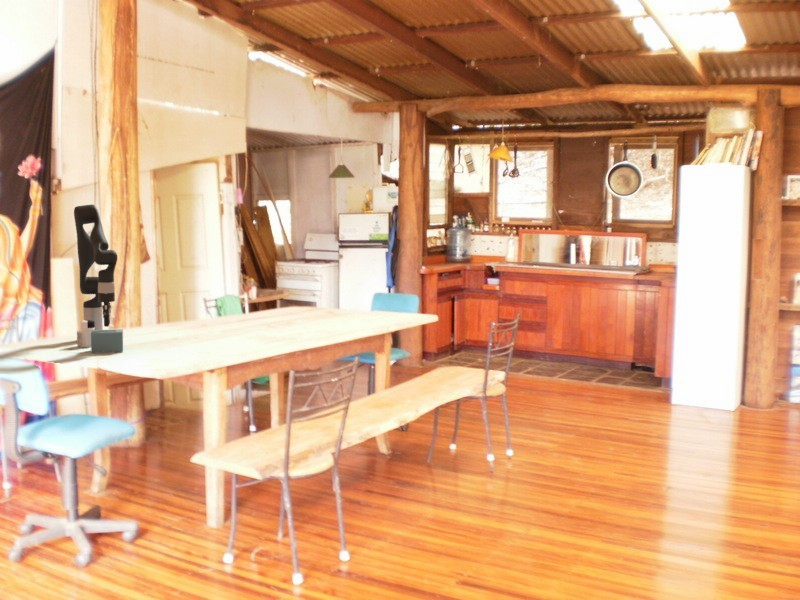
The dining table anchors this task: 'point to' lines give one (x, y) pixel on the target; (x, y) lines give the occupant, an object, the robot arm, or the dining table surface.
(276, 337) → the dining table surface
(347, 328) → the dining table surface
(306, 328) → the dining table surface
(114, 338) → the coin box
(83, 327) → the container
